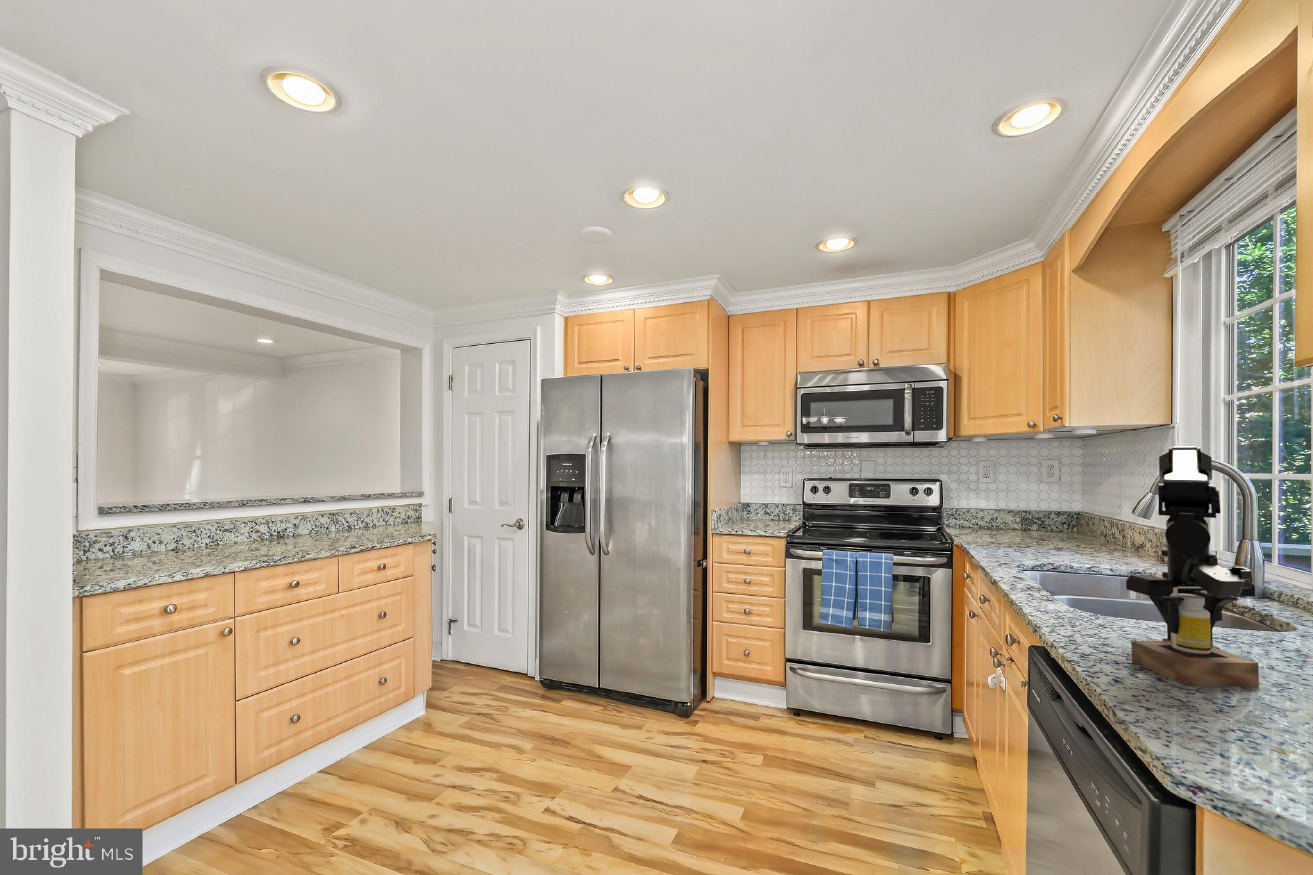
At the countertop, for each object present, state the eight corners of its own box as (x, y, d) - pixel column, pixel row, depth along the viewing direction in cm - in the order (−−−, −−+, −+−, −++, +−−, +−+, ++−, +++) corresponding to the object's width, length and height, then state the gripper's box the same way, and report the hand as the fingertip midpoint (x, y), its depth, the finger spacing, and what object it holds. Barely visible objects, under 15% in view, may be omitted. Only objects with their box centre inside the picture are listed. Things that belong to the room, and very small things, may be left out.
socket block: (1195, 662, 112) (1194, 640, 112) (1259, 686, 100) (1258, 662, 100) (1132, 661, 112) (1131, 640, 112) (1187, 686, 100) (1187, 662, 100)
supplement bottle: (1219, 656, 103) (1217, 599, 103) (1184, 654, 104) (1182, 598, 104) (1198, 646, 108) (1196, 592, 109) (1164, 644, 109) (1162, 591, 110)
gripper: (1174, 554, 99) (1177, 647, 98) (1286, 554, 99) (1290, 647, 98) (1122, 544, 110) (1125, 628, 109) (1223, 544, 110) (1226, 628, 109)
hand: (1190, 633), depth 106 cm, fingers closed on supplement bottle, 5 cm apart
